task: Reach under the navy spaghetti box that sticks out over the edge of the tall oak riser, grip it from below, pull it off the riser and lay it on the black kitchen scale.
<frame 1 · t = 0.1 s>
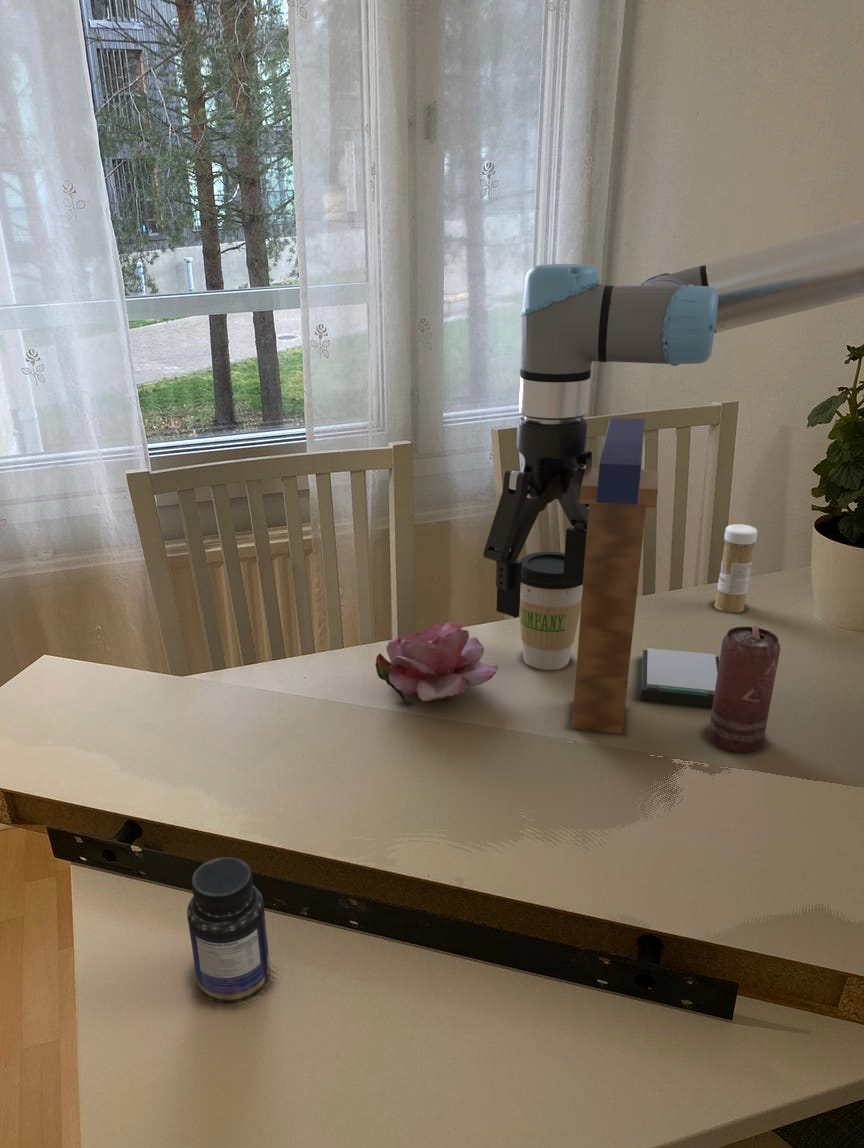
hand: (542, 596, 109), 16 cm above the table, tool pointing down, fingers open, 13 cm apart
coffee cup: (545, 663, 128), on the table
spaghetti box: (620, 475, 101), point 31 cm above the table, touching riser
riser: (597, 721, 113), on the table
can: (734, 742, 109), on the table
flower: (436, 697, 120), on the table
pill bottle: (234, 981, 76), on the table
scale: (679, 685, 121), on the table
sprinkles bottle: (729, 610, 144), on the table
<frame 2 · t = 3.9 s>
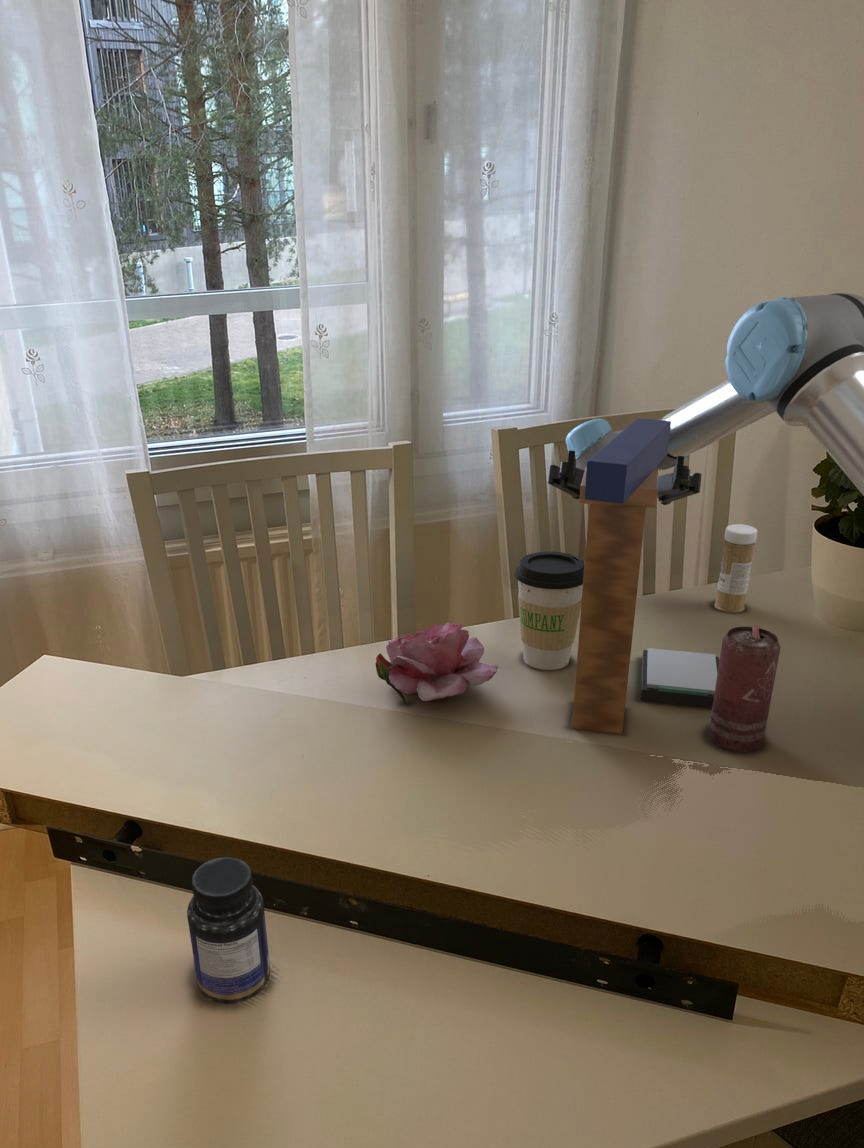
hand: (624, 463, 117), 28 cm above the table, tool pointing upward, fingers open, 13 cm apart
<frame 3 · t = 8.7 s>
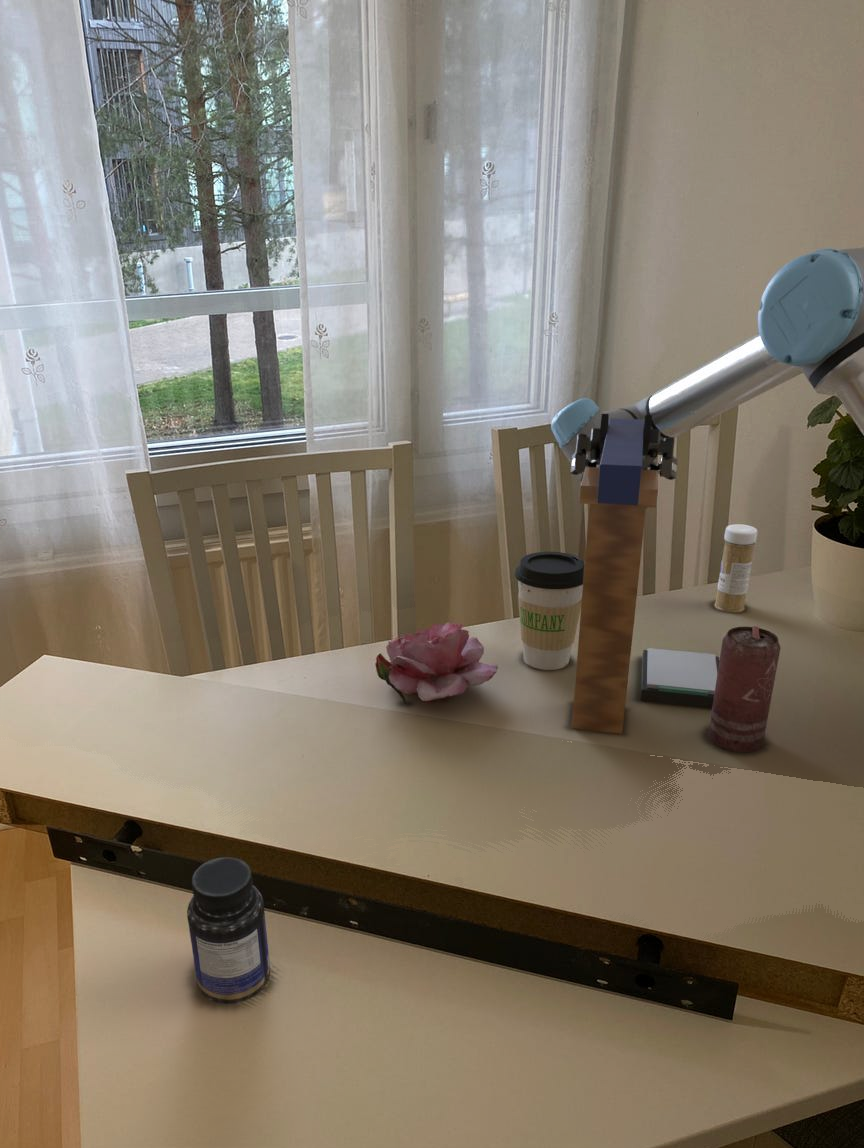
hand: (625, 426, 102), 36 cm above the table, tool pointing upward, fingers closed on spaghetti box, 4 cm apart
spaghetti box: (621, 475, 101), point 31 cm above the table, touching gripper, riser
everything else where it was.
when the fingers open (8 cm above the table, at t = 20.8 s): spaghetti box drops 1 cm, resting on scale.
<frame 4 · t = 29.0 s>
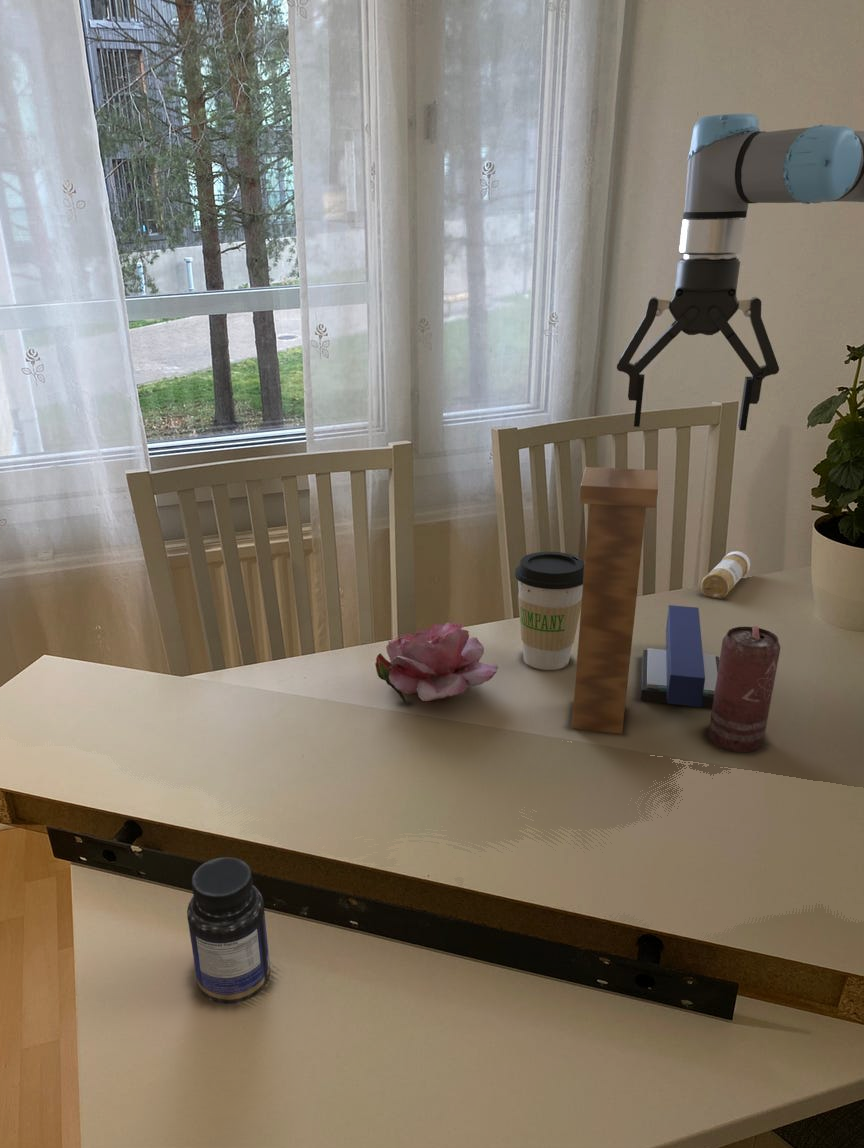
hand: (688, 426, 123), 31 cm above the table, tool pointing down, fingers open, 13 cm apart
spaghetti box: (681, 665, 121), point 3 cm above the table, touching scale
sprinkles bottle: (714, 587, 146), point 2 cm above the table
everything else where it was.
at the end: spaghetti box inside the target area on the scale (0.8 cm from its centre), point 2.6 cm above the scale's base; spaghetti box tilted 0° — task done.
